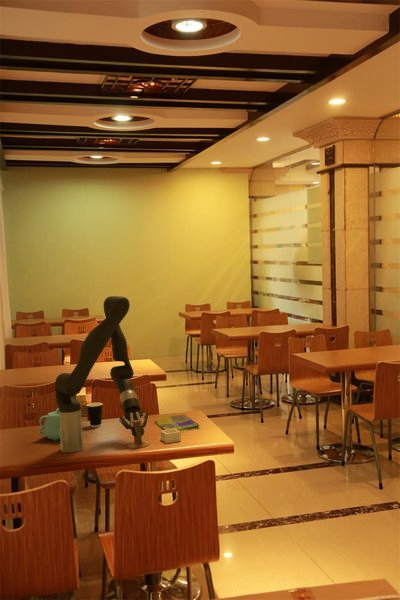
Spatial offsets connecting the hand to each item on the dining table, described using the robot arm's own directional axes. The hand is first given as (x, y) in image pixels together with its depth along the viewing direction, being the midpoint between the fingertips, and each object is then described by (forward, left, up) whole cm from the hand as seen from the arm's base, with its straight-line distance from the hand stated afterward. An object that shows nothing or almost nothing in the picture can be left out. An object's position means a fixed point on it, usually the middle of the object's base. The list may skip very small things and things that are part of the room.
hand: (139, 435), depth 271 cm
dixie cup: (-9, +47, -5) cm, 48 cm away
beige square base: (+15, +2, -5) cm, 16 cm away
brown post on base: (0, +2, -5) cm, 5 cm away
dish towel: (+26, +26, -6) cm, 38 cm away
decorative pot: (-28, +35, -5) cm, 45 cm away
